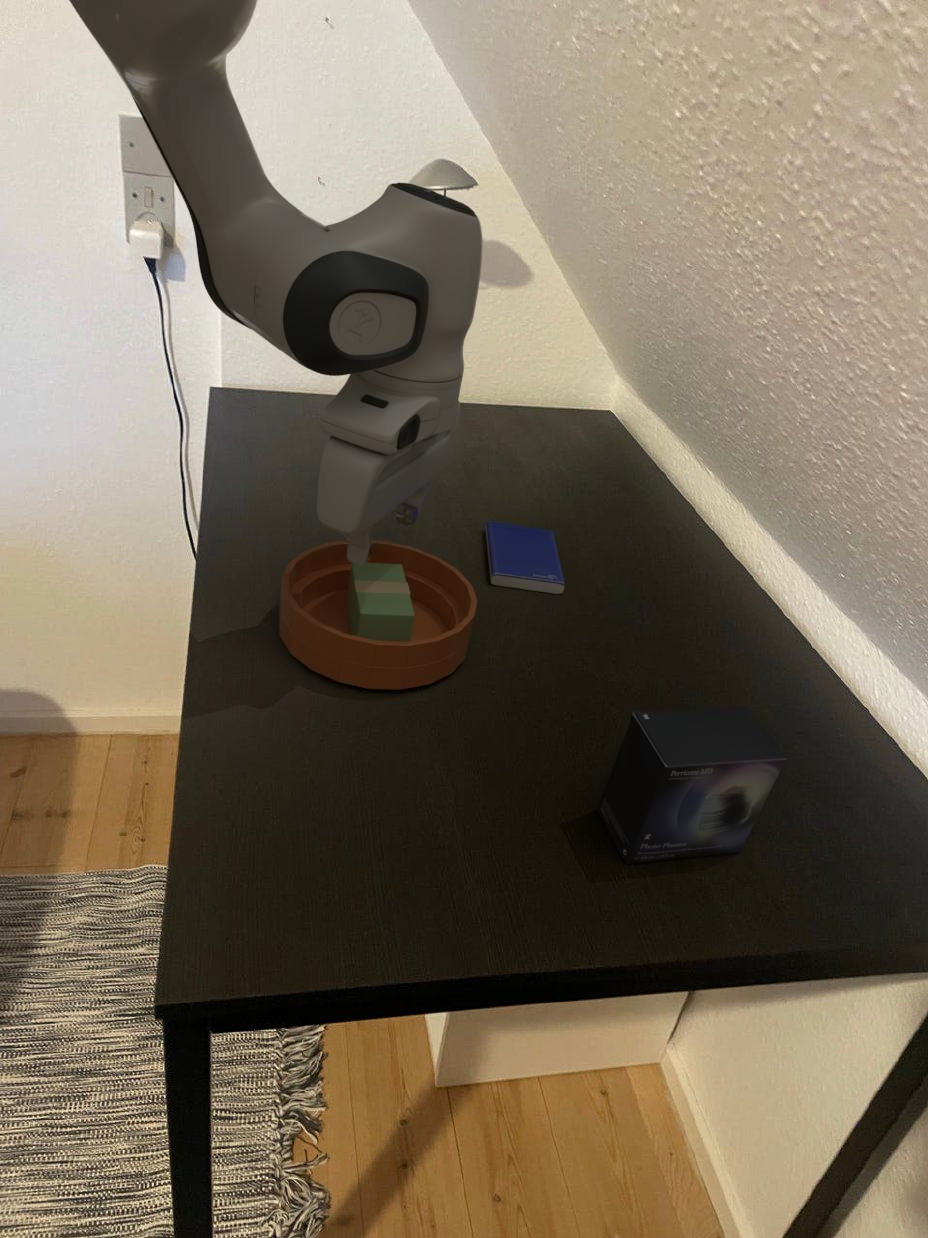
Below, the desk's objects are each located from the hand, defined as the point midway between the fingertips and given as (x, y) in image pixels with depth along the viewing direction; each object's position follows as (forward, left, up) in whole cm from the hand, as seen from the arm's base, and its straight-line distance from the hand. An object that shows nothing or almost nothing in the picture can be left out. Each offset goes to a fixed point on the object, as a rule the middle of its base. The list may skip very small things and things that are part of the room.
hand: (383, 540), depth 86 cm
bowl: (0, -1, -10) cm, 10 cm away
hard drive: (+19, +15, -11) cm, 27 cm away
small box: (+21, -27, -11) cm, 36 cm away
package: (0, -1, -10) cm, 10 cm away
